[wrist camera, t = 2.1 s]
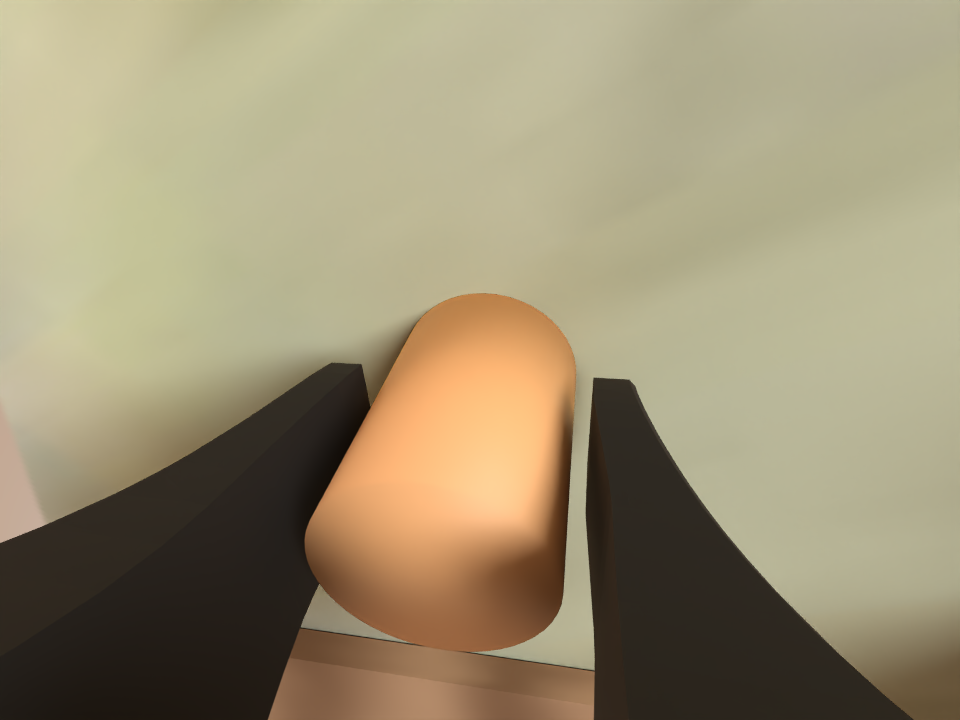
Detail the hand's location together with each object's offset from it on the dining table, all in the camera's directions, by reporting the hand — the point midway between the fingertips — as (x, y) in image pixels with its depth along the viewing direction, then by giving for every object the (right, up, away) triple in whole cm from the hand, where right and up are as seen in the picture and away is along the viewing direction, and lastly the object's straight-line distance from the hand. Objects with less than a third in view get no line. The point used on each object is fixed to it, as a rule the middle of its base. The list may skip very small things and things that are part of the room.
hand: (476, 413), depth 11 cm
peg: (0, +1, +1) cm, 1 cm away
